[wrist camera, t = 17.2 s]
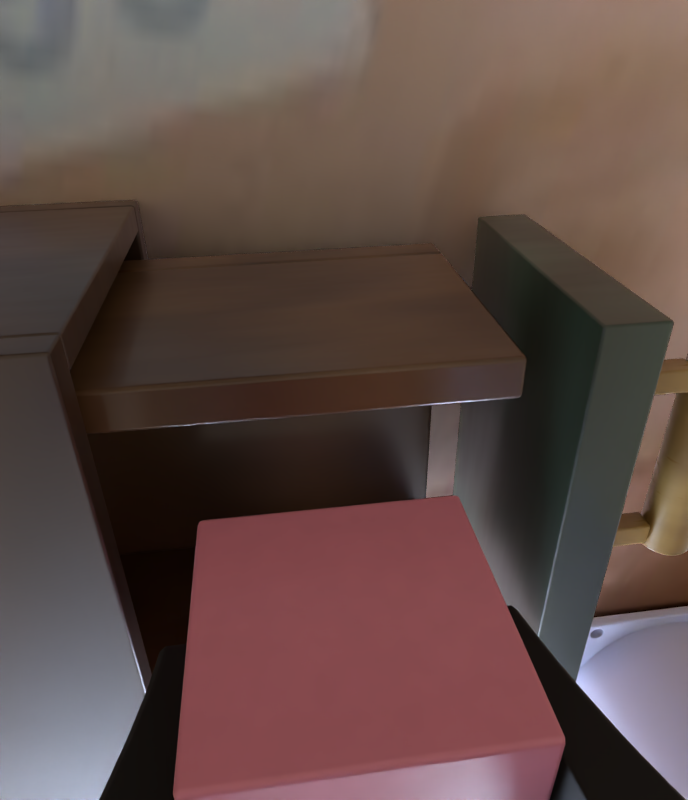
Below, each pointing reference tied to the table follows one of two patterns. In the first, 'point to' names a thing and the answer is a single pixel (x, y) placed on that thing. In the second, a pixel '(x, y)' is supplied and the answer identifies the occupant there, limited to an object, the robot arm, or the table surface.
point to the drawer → (385, 409)
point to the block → (357, 663)
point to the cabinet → (59, 512)
